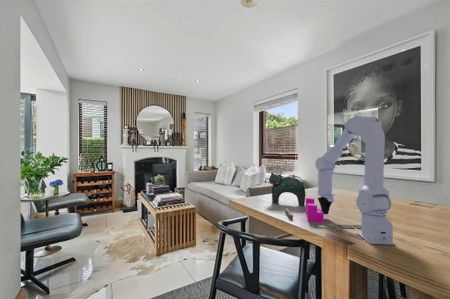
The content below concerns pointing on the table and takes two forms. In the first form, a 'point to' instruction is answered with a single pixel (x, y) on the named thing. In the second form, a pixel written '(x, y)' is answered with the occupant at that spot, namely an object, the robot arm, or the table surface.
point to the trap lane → (325, 224)
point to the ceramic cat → (287, 187)
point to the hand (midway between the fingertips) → (325, 213)
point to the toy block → (313, 212)
